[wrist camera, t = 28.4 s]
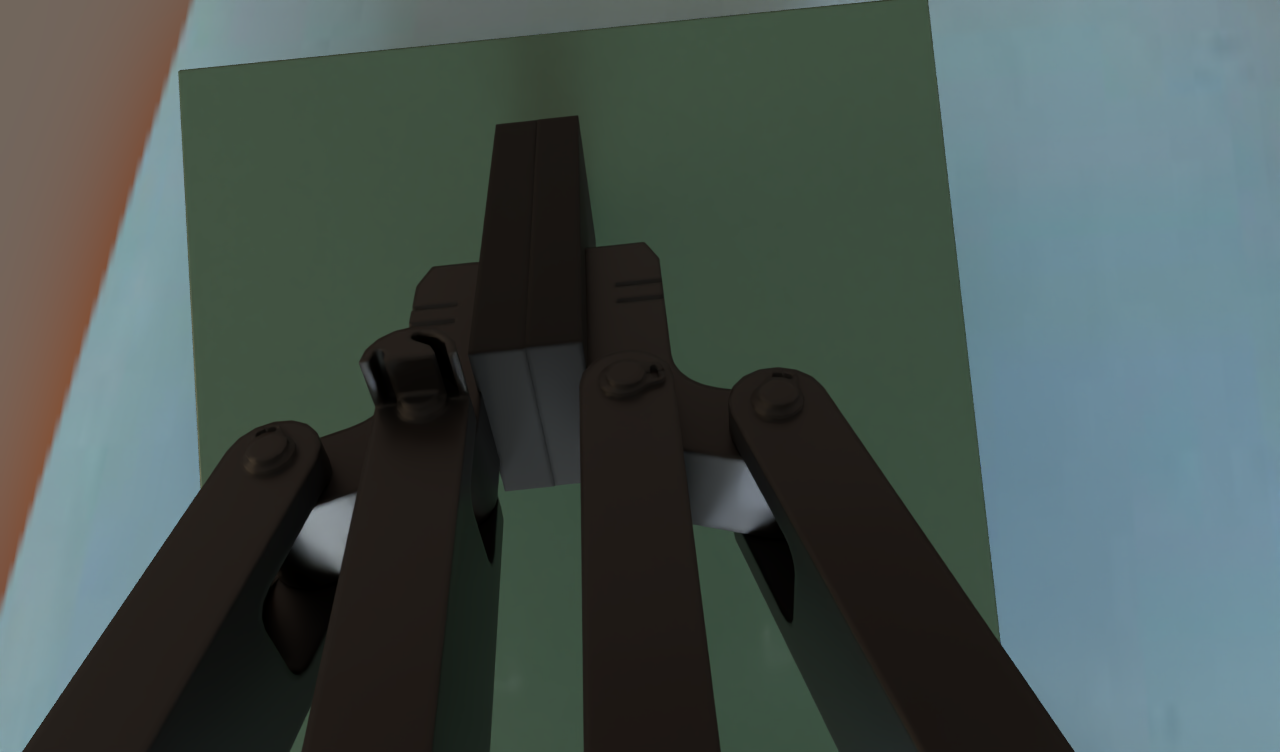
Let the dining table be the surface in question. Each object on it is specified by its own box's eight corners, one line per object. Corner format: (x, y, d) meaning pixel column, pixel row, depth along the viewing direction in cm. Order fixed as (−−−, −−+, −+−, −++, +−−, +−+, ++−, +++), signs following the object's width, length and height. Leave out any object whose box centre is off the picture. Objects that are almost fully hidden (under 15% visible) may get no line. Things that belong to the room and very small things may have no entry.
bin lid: (195, 83, 21) (176, 68, 20) (918, 12, 20) (928, -6, 19) (241, 914, 19) (223, 934, 19) (1012, 856, 19) (1028, 874, 18)
